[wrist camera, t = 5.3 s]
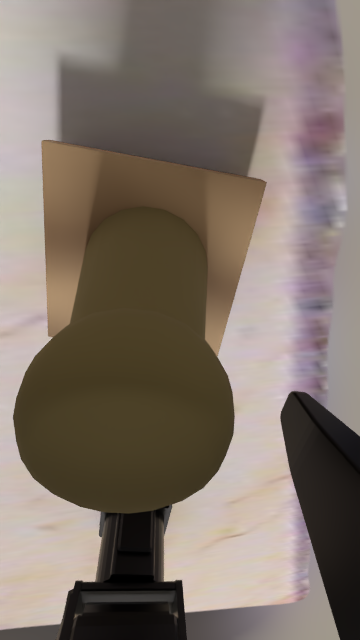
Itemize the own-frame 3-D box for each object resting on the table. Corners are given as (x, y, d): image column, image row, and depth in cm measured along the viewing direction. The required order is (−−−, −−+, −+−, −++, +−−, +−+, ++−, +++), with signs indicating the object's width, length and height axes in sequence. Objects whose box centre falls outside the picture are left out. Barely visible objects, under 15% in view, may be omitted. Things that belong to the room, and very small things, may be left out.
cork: (187, 187, 14) (232, 311, 5) (220, 303, 17) (288, 520, 8) (60, 231, 15) (-115, 413, 6) (114, 335, 18) (59, 567, 9)
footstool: (211, 328, 22) (217, 356, 19) (62, 309, 20) (48, 336, 18) (250, 174, 17) (266, 182, 14) (61, 138, 16) (41, 140, 13)
